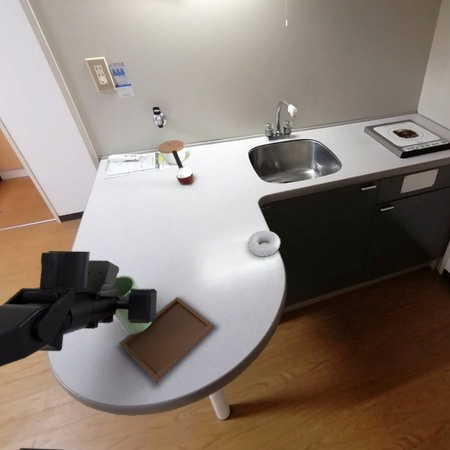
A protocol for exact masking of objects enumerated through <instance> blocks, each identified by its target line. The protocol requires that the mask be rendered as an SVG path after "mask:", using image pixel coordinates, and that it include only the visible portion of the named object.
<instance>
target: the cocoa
mask: <svg viewBox="0 0 450 450" xmlns="http://www.w3.org/2000/svg"><path fill="white" fill-rule="evenodd" d="M172 153H173V156H174V158H175V160H176V163H177V164H176V165H177V167H178V169H177V171H176V173H175V177H176V179H177V181H178V183H179V184H181V185H184V186H185V185H189V184H191V183H192V182H193V180H194V175H193V171H192V168H190V167H189V166H188V165H184V166H183V164H182V163H183V162H181V161H180V158H179V156H178V154H177V151H176V150H174V151H172Z"/></svg>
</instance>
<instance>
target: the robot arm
mask: <svg viewBox="0 0 450 450" xmlns="http://www.w3.org/2000/svg"><path fill="white" fill-rule="evenodd" d="M90 254H91V253H90V251H82V250H81V251H80V250H79V251H75V250H74V251H73V250H71V251H70V250H48V252H47V251H45V252H42V253H41V254H40V255H41V256H40V265H41V267H40V269H41V270H40V279H39V281H40V282H39V286H38V287H21V288H20V289H19V290H18V291H16V293H14V294H13V295H12V296H11V297H9V299H7V300H6V301H5V302H3V304H1V305H0V368H1V367H4V366H6V365H9V364H12V363H15V362H18V361H21V360H24V359H26V358H28V357H30V356H31V355H34V354H36V353H37V352H60V351H62V349H63V345H64V344H63V343H64V336H65V335H67V334H71V333H74V332H76V331H80V330H83V329H84V330H85V329H86V330H87V329H88V330H91V329H92V330H95V329H97V328H99V324H111V323H113V322H114V316H113V315H115V314H116V310H117V309H126V310H128V321H129V322H130V323H150V322H152V321H153V320H154V319H155V318H156V314H157V301H158V291H157V290H156V289H155V288H139V289H131V292H130V293H128V294H127V295H126V296H117V291H118V289H113V287H114V284H115V281H116V277H118V274H119V272H120V267H119V266H118V265H116V264H115V263H112V262H111V261H109V260H100V259H99V260H97V259H95V260H92V259H90V257H91V256H90ZM18 450H65V449H61V448H58V449H57V448H38V447H37V448H35V447H34V448H33V447H21V448H19V449H18Z"/></svg>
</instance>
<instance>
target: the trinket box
mask: <svg viewBox="0 0 450 450" xmlns="http://www.w3.org/2000/svg"><path fill="white" fill-rule="evenodd" d="M157 150H158V152H159V154H160V156H161V158H162V160H163V161H164V162H166V163H167V164H169V165H173V166H174V165H175V166H176V165H177V163H176V160H175V158H174V156H173V153H172V151H174V150H176V151H177V154H178V156H179V158H180V161H181V163H183V161H184V160H185V157H186V147H185V143H184V142H183V141H181V140H179V139H174V140H172V139H171V140H167V141H164V142H162V143H160V144H159V145H158V146H157Z"/></svg>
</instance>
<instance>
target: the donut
mask: <svg viewBox="0 0 450 450" xmlns="http://www.w3.org/2000/svg"><path fill="white" fill-rule="evenodd" d="M262 242H268V243H267V244H260V243H262ZM280 246H281V238H280V237H279V235H278V234H277V233H275V232H273V231H271V230H260V231H259V230H258V231H256V232H254V233H253V234H252V235H251V236H250V237H249V238H248V241H247V248H248V250H249V252H250V253H252V254H253V255H254V256H257V257H268V256H271V255H273V254H275V253H277V251H278V250H279V248H280Z"/></svg>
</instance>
